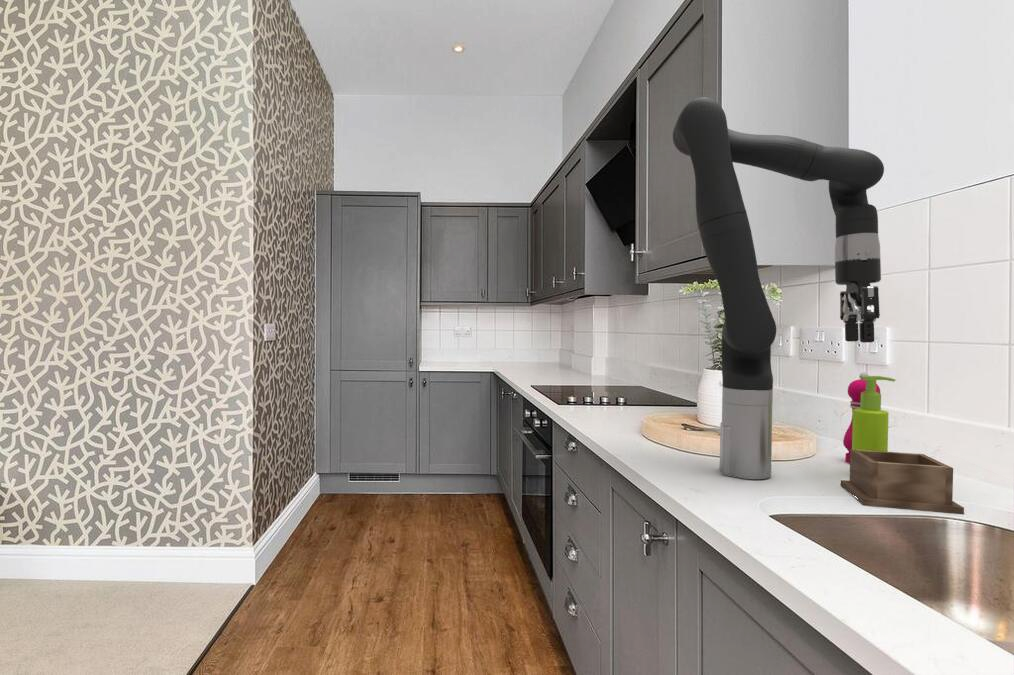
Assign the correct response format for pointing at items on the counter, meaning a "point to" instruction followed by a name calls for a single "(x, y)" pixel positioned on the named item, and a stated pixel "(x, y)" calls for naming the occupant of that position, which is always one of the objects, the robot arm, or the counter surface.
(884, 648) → the counter surface
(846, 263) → the robot arm
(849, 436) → the pepper mill
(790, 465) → the counter surface
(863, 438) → the soap dispenser
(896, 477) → the box
